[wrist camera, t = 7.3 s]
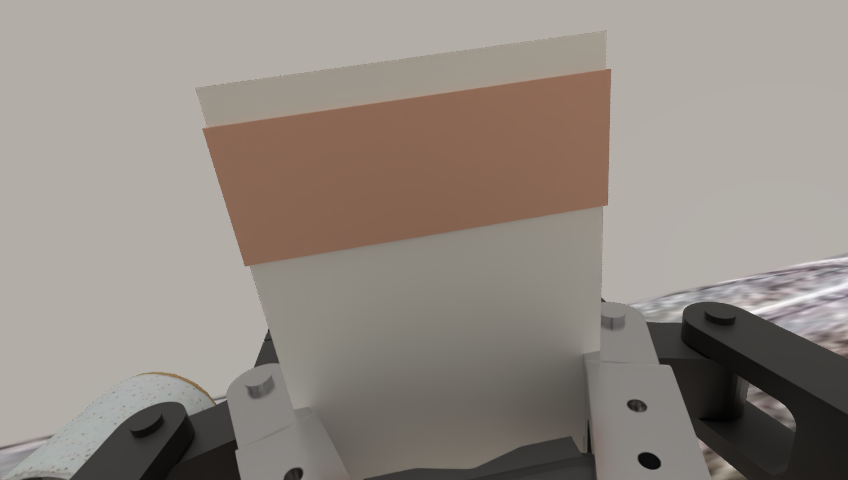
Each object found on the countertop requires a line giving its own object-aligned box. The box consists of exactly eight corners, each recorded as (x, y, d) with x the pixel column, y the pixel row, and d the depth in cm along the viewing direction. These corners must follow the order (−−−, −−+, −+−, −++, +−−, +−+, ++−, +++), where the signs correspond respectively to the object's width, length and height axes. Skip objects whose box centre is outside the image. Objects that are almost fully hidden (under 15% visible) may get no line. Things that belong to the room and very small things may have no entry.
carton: (383, 713, 11) (190, 88, 6) (377, 509, 16) (274, 81, 11) (596, 661, 11) (612, 30, 6) (524, 478, 17) (496, 50, 11)
